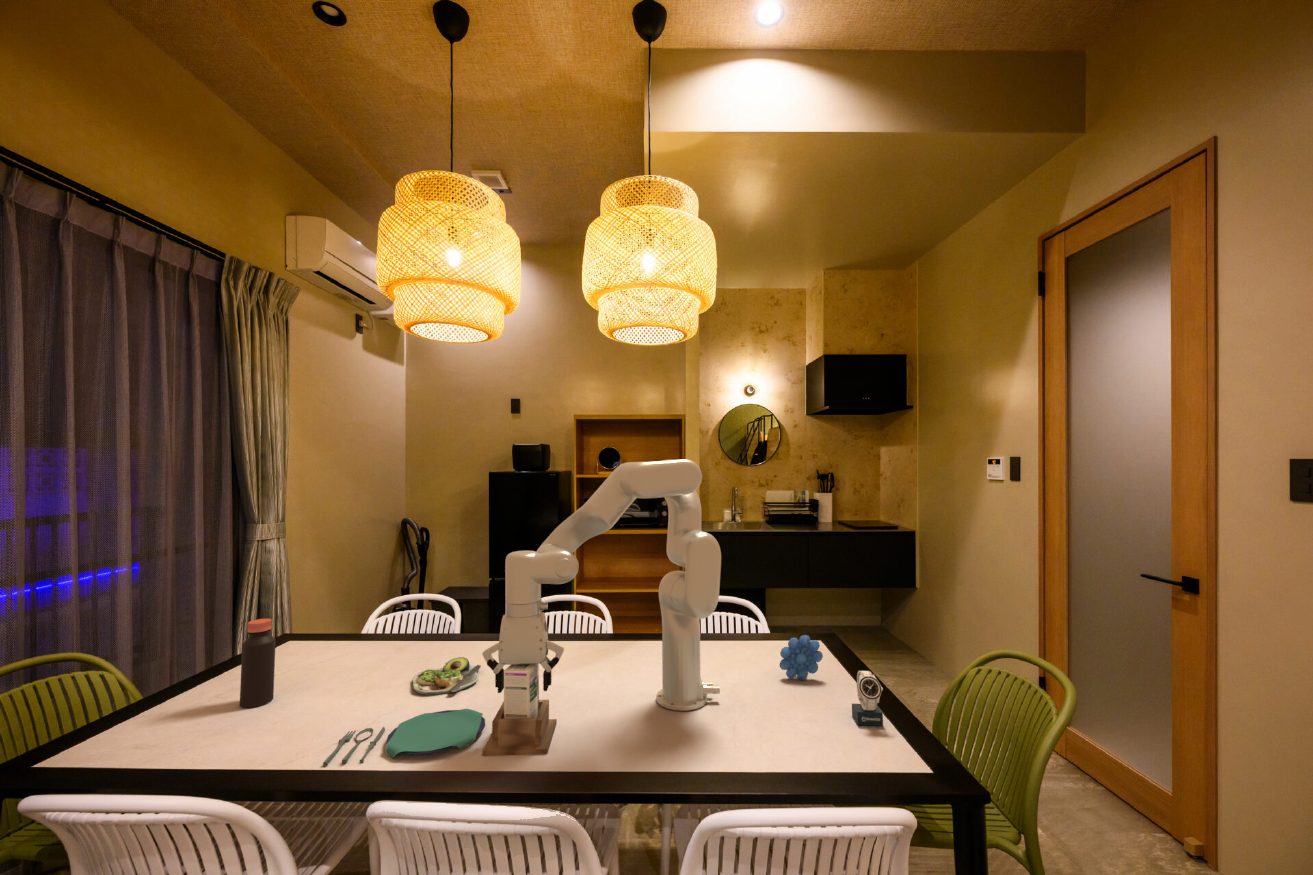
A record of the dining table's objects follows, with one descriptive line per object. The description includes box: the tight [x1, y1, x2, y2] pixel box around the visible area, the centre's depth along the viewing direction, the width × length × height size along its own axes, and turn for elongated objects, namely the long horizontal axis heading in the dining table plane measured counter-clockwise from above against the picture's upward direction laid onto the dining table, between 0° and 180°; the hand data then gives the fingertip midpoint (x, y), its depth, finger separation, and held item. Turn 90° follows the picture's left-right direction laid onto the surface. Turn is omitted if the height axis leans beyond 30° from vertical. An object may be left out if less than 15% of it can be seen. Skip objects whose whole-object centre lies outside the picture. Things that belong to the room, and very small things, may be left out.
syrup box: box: [503, 663, 540, 719], centre depth 115 cm, size 6×6×14 cm
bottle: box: [239, 618, 276, 709], centre depth 133 cm, size 7×7×20 cm
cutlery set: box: [322, 708, 486, 767], centre depth 114 cm, size 20×30×2 cm, turn 101°
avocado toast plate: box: [412, 656, 482, 696], centre depth 144 cm, size 19×18×5 cm
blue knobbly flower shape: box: [779, 634, 824, 681], centre depth 146 cm, size 12×7×12 cm, turn 84°
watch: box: [851, 670, 884, 728], centre depth 121 cm, size 6×8×11 cm
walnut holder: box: [481, 698, 557, 757], centre depth 114 cm, size 13×13×6 cm
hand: (523, 689), depth 115 cm, fingers open, 9 cm apart
